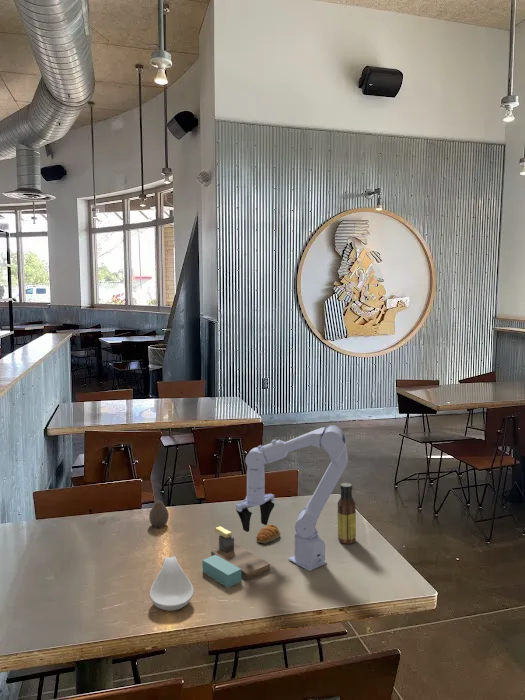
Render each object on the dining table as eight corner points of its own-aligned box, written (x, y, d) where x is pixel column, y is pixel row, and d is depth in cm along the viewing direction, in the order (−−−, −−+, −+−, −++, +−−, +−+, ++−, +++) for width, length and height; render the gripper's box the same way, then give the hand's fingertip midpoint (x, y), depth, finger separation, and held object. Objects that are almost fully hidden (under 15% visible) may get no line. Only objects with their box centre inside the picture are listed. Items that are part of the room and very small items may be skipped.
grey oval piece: (145, 527, 188) (145, 504, 187) (155, 520, 195) (154, 497, 194) (163, 530, 186) (162, 506, 185) (171, 522, 193) (171, 499, 192)
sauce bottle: (355, 537, 182) (356, 481, 181) (356, 545, 176) (358, 488, 174) (336, 536, 183) (337, 480, 181) (337, 544, 177) (338, 487, 175)
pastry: (268, 546, 175) (268, 535, 175) (251, 542, 178) (251, 531, 178) (281, 536, 183) (281, 525, 183) (265, 532, 186) (265, 521, 186)
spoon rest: (195, 614, 136) (195, 588, 136) (149, 620, 134) (149, 593, 133) (188, 569, 159) (188, 547, 159) (148, 573, 157) (148, 550, 156)
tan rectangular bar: (231, 536, 167) (231, 532, 167) (226, 538, 166) (226, 534, 166) (220, 530, 172) (220, 526, 172) (215, 532, 170) (215, 527, 170)
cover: (241, 582, 153) (241, 569, 152) (228, 588, 149) (228, 575, 149) (215, 567, 161) (215, 554, 161) (202, 572, 158) (202, 560, 157)
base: (270, 570, 159) (270, 550, 158) (247, 580, 153) (247, 559, 153) (233, 548, 173) (233, 530, 172) (211, 557, 167) (211, 538, 166)
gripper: (264, 478, 174) (264, 517, 175) (229, 487, 164) (229, 529, 166) (278, 483, 169) (278, 524, 170) (244, 494, 159) (243, 536, 160)
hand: (255, 527), depth 167 cm, fingers open, 7 cm apart
